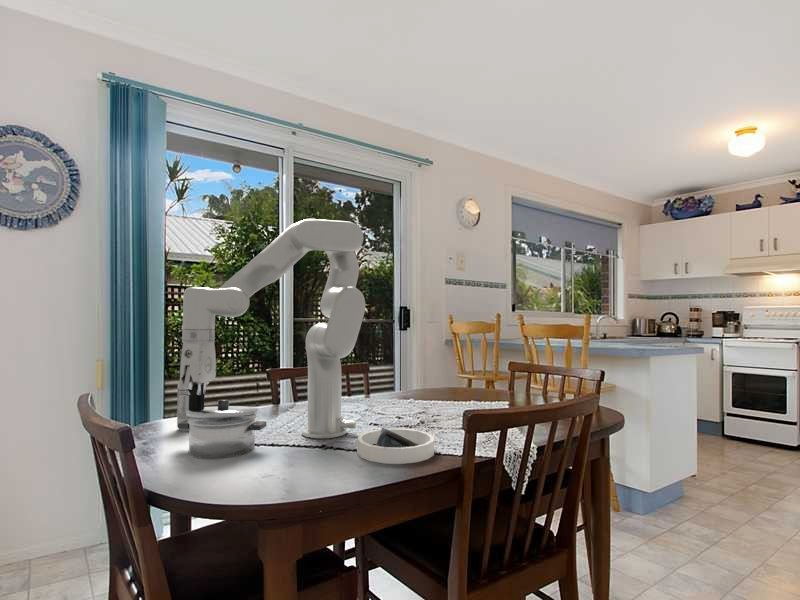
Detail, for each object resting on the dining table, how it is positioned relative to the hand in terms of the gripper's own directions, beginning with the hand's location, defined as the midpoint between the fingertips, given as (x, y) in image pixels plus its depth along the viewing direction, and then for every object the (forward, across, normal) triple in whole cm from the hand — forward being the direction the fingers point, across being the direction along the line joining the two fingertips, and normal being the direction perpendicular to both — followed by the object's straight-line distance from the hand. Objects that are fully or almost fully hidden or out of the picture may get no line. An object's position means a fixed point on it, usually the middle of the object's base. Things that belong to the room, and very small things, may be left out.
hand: (196, 410), depth 124 cm
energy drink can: (+10, +22, +13) cm, 28 cm away
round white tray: (+10, +5, -50) cm, 51 cm away
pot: (+10, +3, -6) cm, 12 cm away
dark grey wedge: (+10, +2, -51) cm, 52 cm away
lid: (+2, +3, -6) cm, 7 cm away
